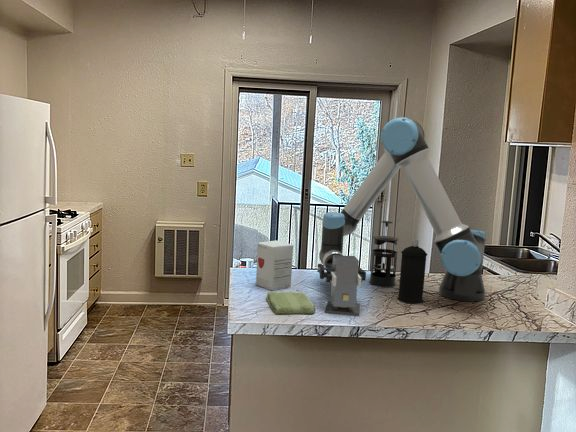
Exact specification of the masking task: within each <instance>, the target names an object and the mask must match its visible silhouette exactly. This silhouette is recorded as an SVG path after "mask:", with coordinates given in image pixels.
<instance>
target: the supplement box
mask: <svg viewBox="0 0 576 432" xmlns="http://www.w3.org/2000/svg"><path fill="white" fill-rule="evenodd" d="M256 250H257V252H256V253H257V255H256V271H255V272H256V274H255V275H256V276H255V285H256V286H259V287H260V288H261V287H262V288H264V289H267V290H270V291H271V292H274V291H277V290H283V289H287V288H291V287H292V271H293V258H294V244H292V243H288V242H283V241H280V240H269V241H260V242H257V249H256Z"/></svg>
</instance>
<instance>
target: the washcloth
mask: <svg viewBox="0 0 576 432" xmlns="http://www.w3.org/2000/svg"><path fill="white" fill-rule="evenodd" d="M265 300H266V302H267V304H268V305H269V306H270V308H271V310H272V311H273V312H274V314H276V315H292V314H297V315H299V314H300V315H312V314H313V315H314V314H315V312H316V307H315V305H314V304H313V302H311V301H310V299H309V298H308V296H307V294H305V293H303V292H294V291H293V292H292V291H281V292H275V291H268V292H267V296H266V297H265Z"/></svg>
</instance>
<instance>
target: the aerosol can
mask: <svg viewBox="0 0 576 432" xmlns="http://www.w3.org/2000/svg"><path fill="white" fill-rule="evenodd" d="M400 253H401V261H400V275H399V276H400V277H399V285H398V297H397V300H398V301H399V302H401V303H405V304H412V305H413V304H414V305H417V304H418V305H419V304H422V303H423V302H424V299H423V297H424V286H425V275H426V265H427V256H428V253H427V252H426V251H425V249H424V248H423V247H422V248H421V247H420V246H419V240H418V239H412V241H411V245H410V246H407V247H405V248H404V249H403V250H401V251H400Z"/></svg>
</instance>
